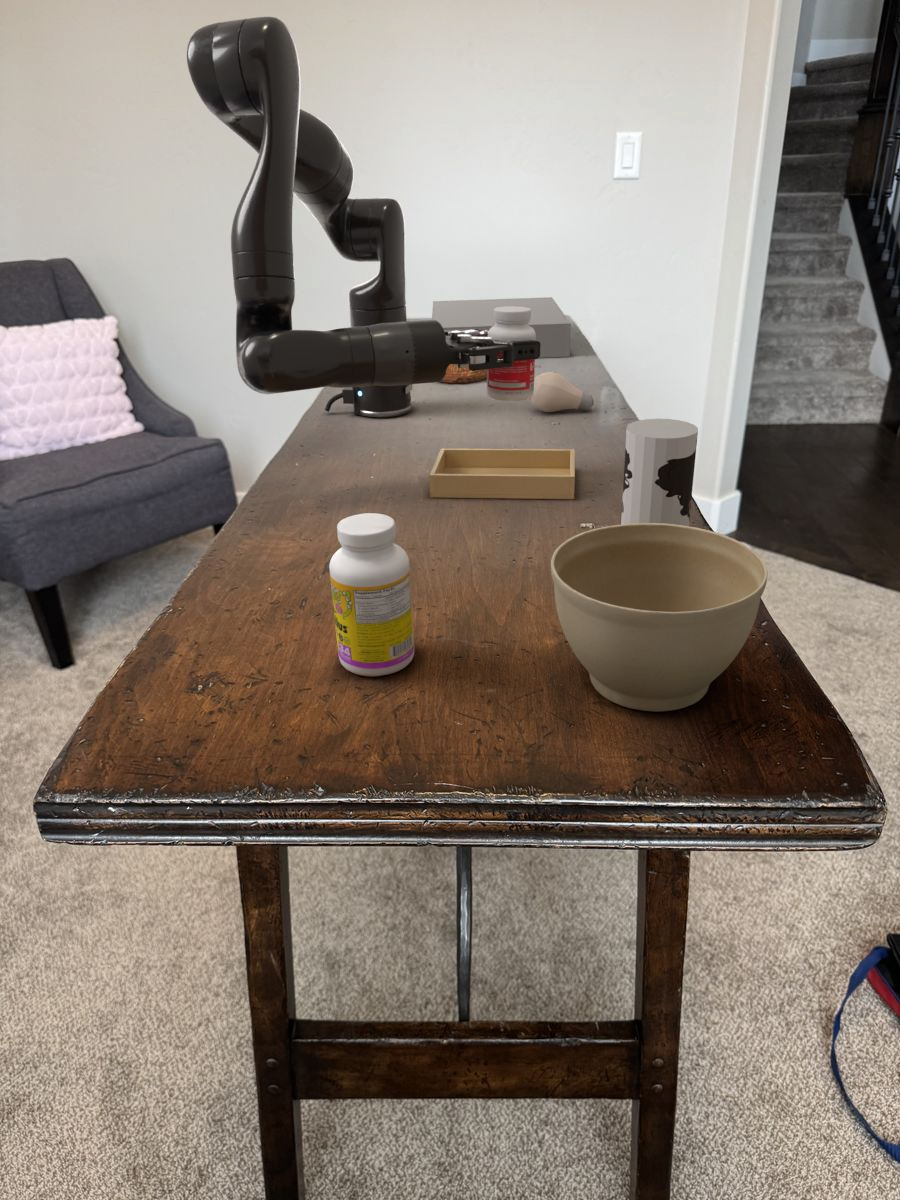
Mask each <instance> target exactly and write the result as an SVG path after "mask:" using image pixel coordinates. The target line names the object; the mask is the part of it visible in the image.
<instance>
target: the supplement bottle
mask: <svg viewBox="0 0 900 1200" xmlns="http://www.w3.org/2000/svg"><path fill="white" fill-rule="evenodd" d="M336 532H337V540H338V542H339V544H340V546H341V547H340V548H338V549H337V551H335V552H334V554H333V555H332V556H331V558H330V561H329V564H328V565H329V566H328V567H329V569H328V570H329V580H330V588H331V597H332V607H333V608H332V609H333V618H334V628H335V637H336V645H337V654H338V659H339V662H340V664H341V666H343V668H344V669H345V670H347V671H348V672H350V673H352V674H355V675H358V676H363V677H381V676H388V675H391V674H395V673H397V672H399V671H401V670H404V669H405V668H406V667H407V666H408V665H409V664H410V663H411V662H412V661H413V658H414V656H415V633H414V632H415V631H414V620H413V604H412V603H413V602H412V586H411V570H410V559H409V556H408V553H407V552H406V550H405V549H404V548H403V547H401V546H400V545H398V544H396V543H395V539H396V536H397V531H396V523H395V520H394V518H392V517H391V516H389V515H387V514H383V513H377V512H376V513H374V512H366V513H365V512H364V513H358V514H353V515H350V516H347V517H344V518H343V519H341V520H340V521H339V522H338V523H337V525H336Z"/></svg>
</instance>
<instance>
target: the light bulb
mask: <svg viewBox="0 0 900 1200" xmlns="http://www.w3.org/2000/svg"><path fill="white" fill-rule="evenodd" d="M529 399H530V401H531V404H532V405H533V406H534V407H535V408H536V410H538V411H541V412H543V413H554V412H558V411H563V410H581V411H585V412H588V411H589V410H590V409H591V408H593V406H594V404H595V403H594V402H595V401H594V400H595V399H594V397H593V395H592V394H590V393H587V392H582V390H581V389H580V388H577V387H575V386H573V385H572V384H571V383H570V382H568V380H566V378H564V377H563V376H562V375H561V374H559V373H556V372H555V371H554V372H553V371H546V372H542V373H539V375H537V376H536V377H534V392H533V395H532V397H530V398H529Z"/></svg>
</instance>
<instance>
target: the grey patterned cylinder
mask: <svg viewBox="0 0 900 1200" xmlns="http://www.w3.org/2000/svg"><path fill="white" fill-rule="evenodd" d="M625 433H626V434H625V451H624V465H623V467H624V468H623V481H622V483H623V484H622V485H623V486H622V499H621V501H622V502H621V504H622V505H621V516H620V517H621V518H620V525H622V524H631V523H665V524H676V525H683V526H689V527H690V519H691V508H692V496H693V486H694V475H695V466H696V455H697V446H698V435H699V427H697V426H696V425H695V424H694V423H690V422H688V421H685V420H680V419H672V418H647V419H646V418H645V419H639V420H635V421H632V422H630V423H628V424H627V425H626V432H625Z"/></svg>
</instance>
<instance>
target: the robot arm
mask: <svg viewBox="0 0 900 1200" xmlns="http://www.w3.org/2000/svg"><path fill="white" fill-rule="evenodd" d="M186 63H187V69H188V72H189V75H190V76H189V77H190V78H191V82H192V85H193V87H194V88H195V91H196V93H197V94H198V96H199V98H200V100H201V101H202V102H203V104H204V106H206V108H207V110H208V111H209V112H210V113H211V114H212V115H213V116H214V118H216V119H217V120H218V121H220V122H221V123H222V124H223V125H224V126H225V127H227V128H228V129H229V130H230V131H232V132H233V134H235V135H236V136H238V138H240V139H241V140H243V142H245V143H246V144H247V145H248V146H249V147H250V148H252V150H253V151H254V152H255V153H256V154H257V155H258V156H257V159H256V162H255V165H254V168H253V171H252V173H251V176H250V178H249V180H248V182H247V185H246V187H245V189H244V191H243V193H242V196H241V197H240V201H239V203H238V204H237V207H236V211H235V213H234V216H233V220H232V224H231V232H230V233H231V234H230V254H231V267H232V268H231V269H232V270H231V271H232V280H233V281H232V282H233V283H232V284H233V292H234V296H235V305H236V311H235V313H236V314H235V315H236V317H235V319H236V320H235V353H236V354H235V356H236V367H237V370H238V375H239V376H240V379H241V380H242V381H243V382H244V384H245V385H246V386H247V387H248V388H249V389H250V390H252V391H254V392H255V393H257V394H258V393H259V394H261V395H275V394H282V393H291V392H296V391H304V390H306V391H307V390H313V389H319V388H321V389H322V388H327V387H328V388H338V389H341V392H340V393H337V394H335V395H333V396H331V398H330V399H329V400H328V401H327V403H326V405H325V408H324V411H326V412H327V413H328V412H330V410H331V407H332V406H333V404H334V403H335V402H336V401H339V400H340V399H342V403H343V404H344V405H345V404H346V405H353V412H354V413H353V414H354V415H355V416H362V417H363V416H364V417H368V418H390V417H392V418H393V417H399V416H402V415H403V416H404V415H405V414H407V413H410V412H411V411H413V405H412V404H413V403H412V395H411V391H413V385H421V384H431V383H432V384H433V383H441V382H440V381H442V380H443V378H444V377H445V375H446V370H447V367H448V366H449V365H450V364H453V365H457V367H458V368H469V370H472V371H476V370H484V369H493V368H502V367H511V366H513V361H518V360H531V359H535V360H538V359H539V357H540V347H541V344H540V342H539V341H537V340H530V341H516V342H510V341H506V342H505V341H495V340H494V338H492V337H488V331H487V330H484V331H482V332H481V329H478V328H475V329H467V330H444V329H443V327H442V325H441V324H440V323H439V322H438V321H437V320H432V319H423V320H422V319H421V320H408V321H407V317H408V316H407V305H406V304H407V300H406V292H407V291H406V288H407V285H406V284H407V276H406V275H407V274H406V273H407V272H406V221H405V215H404V210H403V207H402V204H401V203H400V202H399V201H398V199H396V198H393V197H358V198H357V197H350V196H349V195H350V194H351V191H352V188H353V185H354V179H355V169H354V164H353V160H352V158H351V156H350V154H349V152H348V150H347V148H346V147H345V146H344V144H343V143H342V141H341V140H340V139H339V137H338V136H337V134H336V133H335V132H334V130H333V129H332V128H331V127H330V126H329V125H328V124H327V123H326V122H324V121H323V120H322V119H321V118H319V117H317V116H316V115H314V114H312V113H310V112H308V111H307V110H305V109H302V108H301V89H302V88H301V87H302V85H301V69H300V60H299V54H298V50H297V45H296V43H295V41H294V37H293V36H292V34H291V32H290V30H289V28H288V27H287V25H286V24H285V23H284V22H283V21H282V20H281V19H279V18H278V17H276V16H275V17H274V16H256V17H249V18H243V19H241V18H240V19H235V20H228V21H221V22H215V23H211V24H208V25H205V26H202V27H200V28H198V29H197V30H196V31H195V32H193V34H192V35H191V36H190V37H189V41H188V43H187V48H186ZM294 197H296V198H297V199H298V200H299V201H300V202H301V203H302V204H303V205H304V207H305V208H306V209H307V210H308V211H309V213H310V214H311V216H312V217H313V218H314V219H315V220H316V221H317V223H318V224H319V226H320V228H322V230H323V232H324V233H325V235H326V237H327V238H328V240H329V242H330V243H331V244H332V246H333V248H334V250H335V251H336V252H337V254H338V255H340V256H341V257H342V258H343V259H345V260H347V261H350V262H355V263H361V262H362V263H363V262H364V263H365V262H372V263H373V262H374V263H375V262H377V263H379V268H378V273H377V274H376V275H375V276H374V277H372V278H370V279H369V280H367V281H365V282H362V283H360V284H357V285H355V286H353V287H352V288H350V289H349V291H348V295H347V296H348V298H347V300H348V309H349V311H348V312H349V321H350V326H349V327H348V326H347V327H337V328H331V329H330V328H329V329H325V330H318V329H317V330H316V329H293V318H292V309H293V306H294V302H295V297H296V281H295V279H296V276H295V261H294V244H293V242H294V241H293V206H294V205H293V204H294ZM499 351H503V357H497V353H498V352H499Z"/></svg>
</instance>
